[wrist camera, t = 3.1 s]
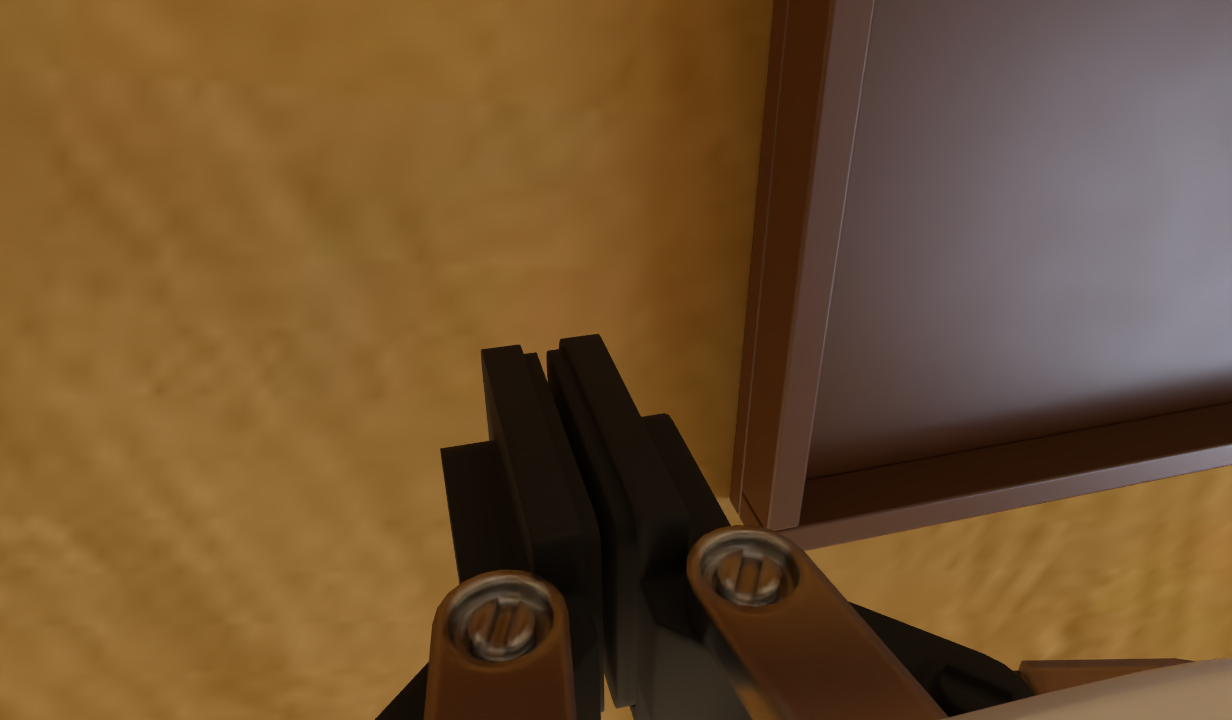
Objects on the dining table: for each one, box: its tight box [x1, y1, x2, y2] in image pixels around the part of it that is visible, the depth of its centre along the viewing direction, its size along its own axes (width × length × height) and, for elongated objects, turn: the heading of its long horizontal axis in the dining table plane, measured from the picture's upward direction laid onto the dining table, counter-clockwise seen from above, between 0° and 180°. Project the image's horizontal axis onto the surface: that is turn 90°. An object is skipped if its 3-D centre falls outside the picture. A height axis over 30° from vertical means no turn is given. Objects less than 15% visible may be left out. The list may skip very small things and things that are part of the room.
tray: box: [730, 0, 1232, 551], centre depth 19 cm, size 14×20×2 cm
